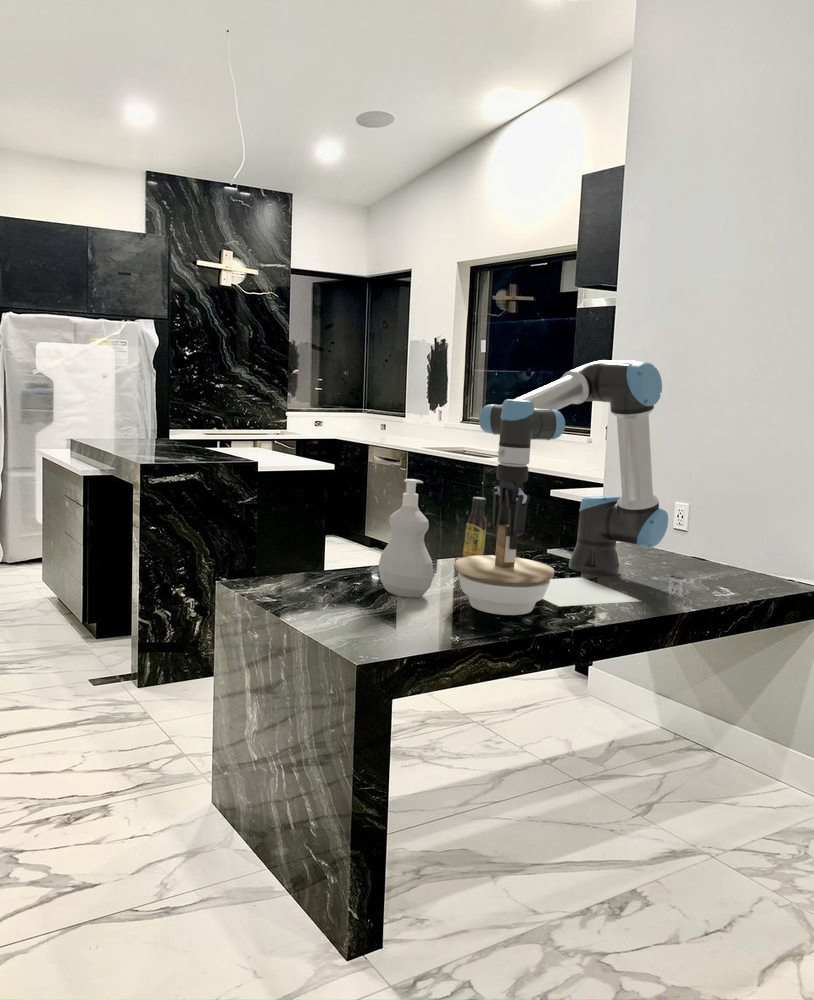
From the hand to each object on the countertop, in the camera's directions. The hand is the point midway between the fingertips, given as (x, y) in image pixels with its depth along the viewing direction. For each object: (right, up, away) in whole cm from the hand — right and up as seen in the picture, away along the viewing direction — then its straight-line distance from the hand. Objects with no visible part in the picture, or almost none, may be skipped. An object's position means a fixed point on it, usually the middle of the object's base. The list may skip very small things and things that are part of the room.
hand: (505, 559), depth 210 cm
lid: (0, -3, 0) cm, 3 cm away
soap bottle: (-25, -10, +10) cm, 28 cm away
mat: (+20, -10, +23) cm, 32 cm away
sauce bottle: (-4, -4, +55) cm, 55 cm away
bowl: (-1, -12, +2) cm, 13 cm away
